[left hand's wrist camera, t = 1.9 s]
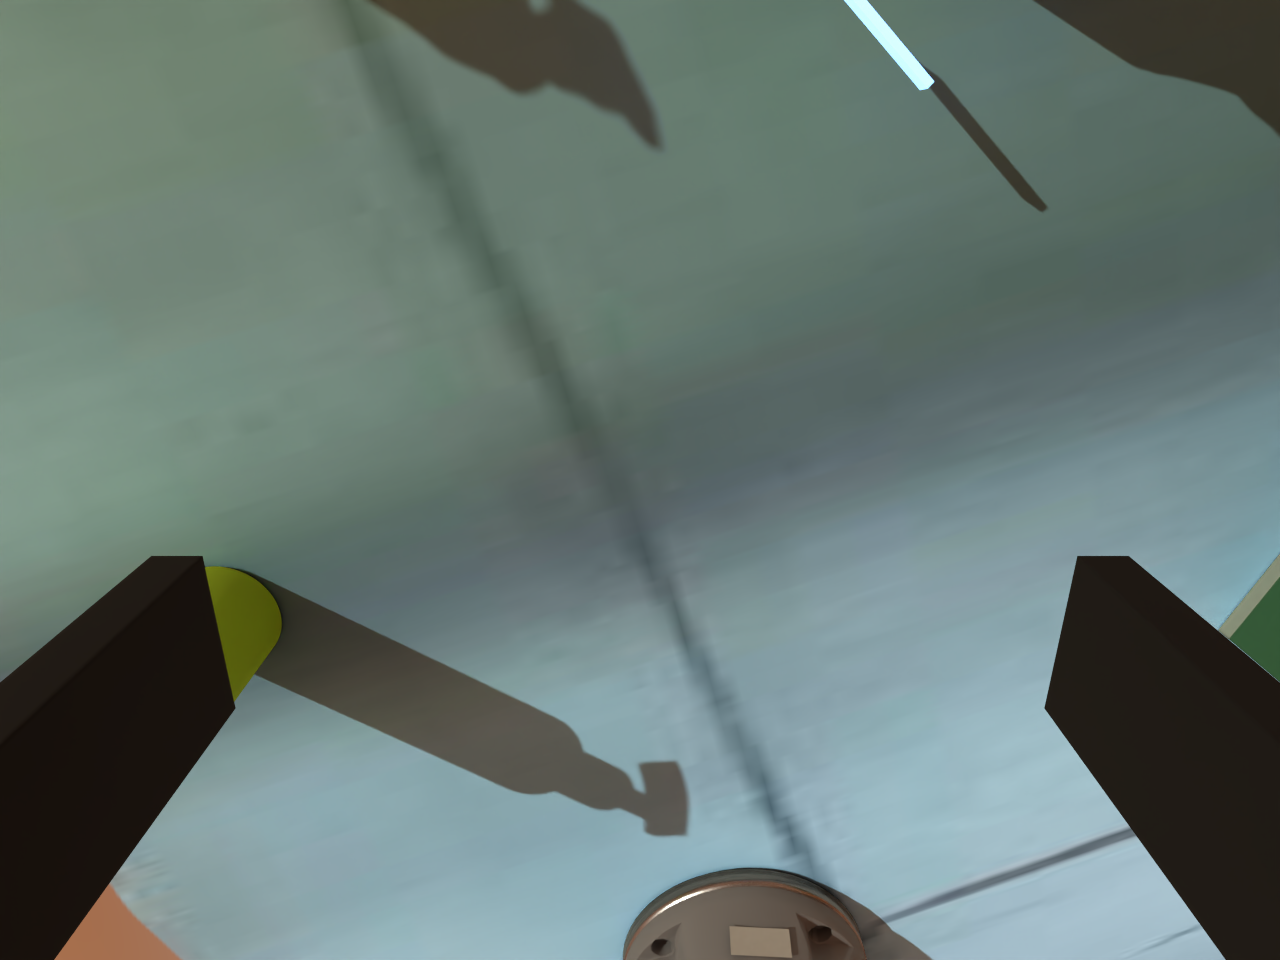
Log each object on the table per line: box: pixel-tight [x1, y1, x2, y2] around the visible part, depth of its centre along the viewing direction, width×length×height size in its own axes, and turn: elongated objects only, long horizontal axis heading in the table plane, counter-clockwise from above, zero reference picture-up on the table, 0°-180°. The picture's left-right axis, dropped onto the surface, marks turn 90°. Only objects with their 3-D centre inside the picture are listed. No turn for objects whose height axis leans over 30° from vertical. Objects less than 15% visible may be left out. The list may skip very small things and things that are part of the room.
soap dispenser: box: [205, 566, 282, 701], centre depth 34 cm, size 6×7×20 cm
